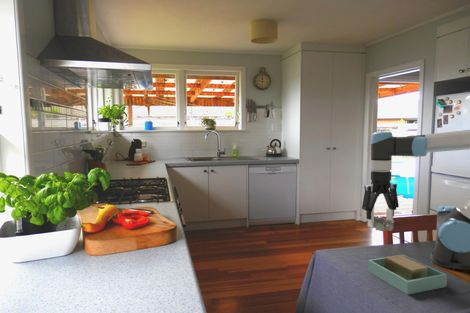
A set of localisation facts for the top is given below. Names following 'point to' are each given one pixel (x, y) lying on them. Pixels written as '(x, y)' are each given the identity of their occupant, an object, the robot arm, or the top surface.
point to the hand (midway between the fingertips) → (380, 225)
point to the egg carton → (383, 224)
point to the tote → (430, 282)
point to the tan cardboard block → (405, 267)
